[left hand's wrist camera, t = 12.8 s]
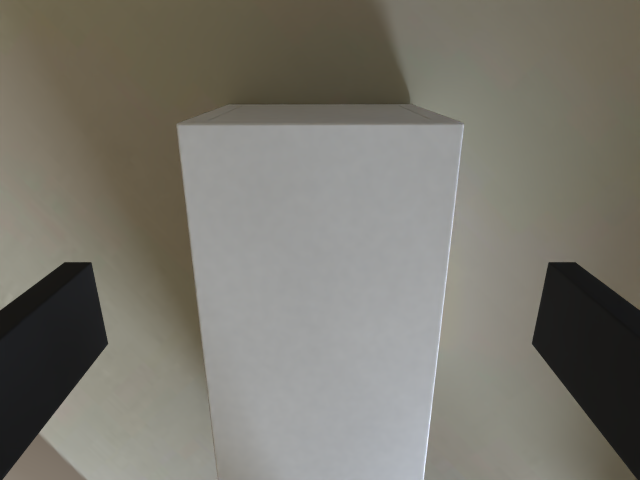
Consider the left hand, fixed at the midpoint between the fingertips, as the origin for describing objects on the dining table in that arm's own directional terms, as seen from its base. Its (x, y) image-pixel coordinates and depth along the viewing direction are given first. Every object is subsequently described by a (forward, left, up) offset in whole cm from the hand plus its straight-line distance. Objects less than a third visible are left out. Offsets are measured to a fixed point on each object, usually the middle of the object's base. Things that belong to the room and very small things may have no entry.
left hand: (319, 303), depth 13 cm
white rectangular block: (+5, -4, -17) cm, 18 cm away
